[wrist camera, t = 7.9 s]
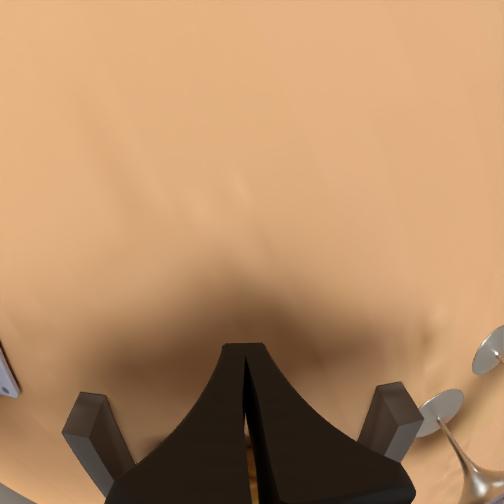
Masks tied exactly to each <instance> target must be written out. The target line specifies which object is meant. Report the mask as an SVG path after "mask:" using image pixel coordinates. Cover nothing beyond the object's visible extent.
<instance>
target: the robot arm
mask: <svg viewBox="0 0 504 504" xmlns="http://www.w3.org/2000/svg"><path fill="white" fill-rule="evenodd" d="M0 394H3V395H7V396H10V397H14V398H17V397H18V396H19V395H20V390H19V388H18V386H17V384H16V382H15V380H14V378H13V375H12V373H11V371H10V369H9V367H8V365H7V362H6V360H5V358H4V355H3V353H2V351H1V348H0ZM245 413H246V419H247V425H248V430H249V435H250V441H251V446H252V451H253V457H254V462H255V469H256V478H257V490H258V502H259V504H411V503H412V501H413V500H414V498H415V496H416V490H415V488H414V485H413V483H412V481H411V479H410V477H409V476H408V474H407V472H406V471H405V470H404V468H403V467H402V465H401V463H399V462H397V461H395V460H392V459H390V458H388V457H386V456H383V455H381V454H379V453H377V452H374V451H372V450H370V449H368V448H367V447H365V446H363V445H361V444H360V443H358V442H356V441H354V440H353V439H351V438H350V437H348V436H347V435H346V434H344V433H343V432H341V431H340V430H338V429H337V428H335V427H334V426H333V425H331V424H330V423H329V422H328V421H326V420H325V419H324V418H323V417H322V416H320V415H319V414H318V413H317V412H316V411H315V410H314V409H313V408H312V407H311V406H310V405H309V404H308V403H307V402H306V401H305V400H304V399H303V398H302V397H301V396H300V395H299V394H298V393H297V391H296V390H295V389H294V388H293V387H292V386H291V384H290V383H289V382H288V381H287V379H286V378H285V377H284V375H283V374H282V373H281V371H280V370H279V368H278V367H277V365H276V364H275V362H274V361H273V359H272V358H271V356H270V354H269V353H268V351H267V349H266V347H265V345H264V344H263V343H226V344H225V345H223V346H222V351H221V355H220V358H219V360H218V363H217V365H216V368H215V370H214V372H213V374H212V376H211V378H210V380H209V382H208V384H207V386H206V387H205V389H204V390H203V392H202V394H201V395H200V397H199V399H198V400H197V402H196V403H195V405H194V406H193V408H192V409H191V410H190V412H189V413H188V414H187V416H186V417H185V418H184V419H183V421H182V422H181V423H180V424H179V425H178V426H177V428H176V429H175V430H174V431H173V432H172V433H171V434H170V435H169V436H168V437H167V438H166V439H165V440H164V441H163V442H162V443H161V444H160V445H159V446H158V447H157V448H156V449H154V450H153V451H152V452H151V453H150V454H149V455H148V456H147V457H145V458H144V459H143V460H142V461H140V462H139V463H138V464H136V465H135V466H133V467H132V468H131V469H129V470H128V471H126V472H125V473H123V474H122V475H121V476H119V477H117V478H116V479H115V481H114V482H113V485H112V487H111V489H110V491H109V493H108V496H107V498H106V501H105V504H252V497H251V489H250V481H249V472H248V463H247V454H246V444H245V433H244V425H245ZM485 504H504V492H503V493H502V494H500V495H498V496H497V497H495V498H494V499H492V500H490V501H489V502H487V503H485Z"/></svg>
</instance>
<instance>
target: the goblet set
mask: <svg viewBox="0 0 504 504" xmlns="http://www.w3.org/2000/svg"><path fill="white" fill-rule="evenodd" d="M500 362H502V363H503V364H504V325H502V326H500V327H498V328H497V329H495V330H494V331H493V332H492V333H491V334H490V335H489V336H488V337H487V338H486V339H485V340H484V341H483V343H482V344H481V346H480V347H479V349H478V350H477V352H476V354H475V357H474V359H473V363H472V371H473V373H474V374H476V375H483V374H486V373H488V372H490V371H491V370H493V369H494V368H495V367H496V366H497V365H498V364H499V363H500ZM463 398H464V396H463V393H462V391H461V390H459V389H450V390H446V391H444V392H441V393H439V394H437V395H436V396H434V397H432V398H431V399H429V400H428V401H427V402H425V403H424V404H423V405H422V406H421V407H420V408H419V411H420V412H421V414H422V416H423V417H424V421H423V423H422V425H421V427H420V429H419V431H418V433H417V435H416V437H415V438H419V437H424V436H427V435H429V434H432V433H434V432H435V431H437V430H439V429H440V428H441V429H442V431H443V432H444V434H445V435H446V437H447V438H448V440H449V442H450V443H451V445H452V447H453V449H454V450H455V452H456V454H457V456H458V459H459V461H460V463H461V466H462V470H463V475H464V485H463V490H462V494H461V497H460V500H459V503H458V504H485V503H487V502H489V501H490V500H492V499H494V498H495V497H497V496H498V495H500V494H502V493H503V492H504V471H492V470H487V469H484V468H481V467H479V466H478V465H476V464H475V463H474V462H472V461H471V460H470V459H469V458H468V456H467V455H466V454H465V453H464V452H463V450H462V449H461V448H460V446H459V445H458V443H457V442H456V440H455V439H454V437H453V436H452V434H451V433H450V431H449V429H448V428H447V426H446V424H447V423H448V422H449V421H450V420H451V419H452V418H453V417H454V416H455V415H456V413H457V412H458V410H459V409H460V407H461V405H462V403H463Z"/></svg>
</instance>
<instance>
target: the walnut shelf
mask: <svg viewBox="0 0 504 504" xmlns="http://www.w3.org/2000/svg"><path fill="white" fill-rule="evenodd" d="M423 421H424V417H423V416H422V414H421V412H420V411H419V409H418V408H417V406H416V404H415V403H414V401H413V400H412V398H411V396H410V395H409V393H408V392H407V390H406V389H405V387H404V385H403V384H402V382H397V383H392V384H387V385H382V386H377V388H376V391H375V394H374V397H373V401H372V404H371V406H370V409H369V412H368V415H367V418H366V421H365V424H364V426H363V429H362V432H361V434H360V437H359V440H358V443H360V444H361V445H363V446H365V447H367V448H368V449H370V450H372V451H374V452H377V453H379V454H381V455H383V456H386V457H388V458H390V459H392V460H395V461H397V462H399V463H401V461H402V459H403V458H404V456H405V454H406V453H407V451H408V449H409V447H410V446H411V444H412V442H413V440H414V438H415V437H416V435H417V433H418V431H419V429H420V427H421V425H422V423H423ZM62 434H63V436H64V438H65V439H66V441H67V443H68V444H69V446H70V448H71V449H72V451H73V452H74V454H75V455H76V457H77V458H78V460H79V461H80V463H81V464H82V466H83V467H84V469H85V470H86V472H87V473H88V475H89V476H90V477H91V479H92V480H93V482H94V483H95V484H96V486H97V487H98V488H99V490H100V491H101V492H102V494H103V495H104V496H105V498H107V496H108V493H109V491H110V489H111V487H112V485H113V482H114V481H115V479H116V478H117V477H119V476H121V475H122V474H123V473H125V472H126V471H128V470H129V469H131V468H132V467H133V466H135V463H134V461H133V459H132V457H131V455H130V453H129V451H128V449H127V447H126V444H125V442H124V440H123V438H122V436H121V433H120V431H119V429H118V426H117V424H116V422H115V419H114V417H113V414H112V412H111V409H110V407H109V404H108V402H107V399H106V397H105V395H97V394H89V393H82V392H80V394H79V396H78V398H77V400H76V402H75V404H74V406H73V408H72V411H71V413H70V415H69V417H68V419H67V421H66V424H65V426H64V428H63V430H62Z"/></svg>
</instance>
